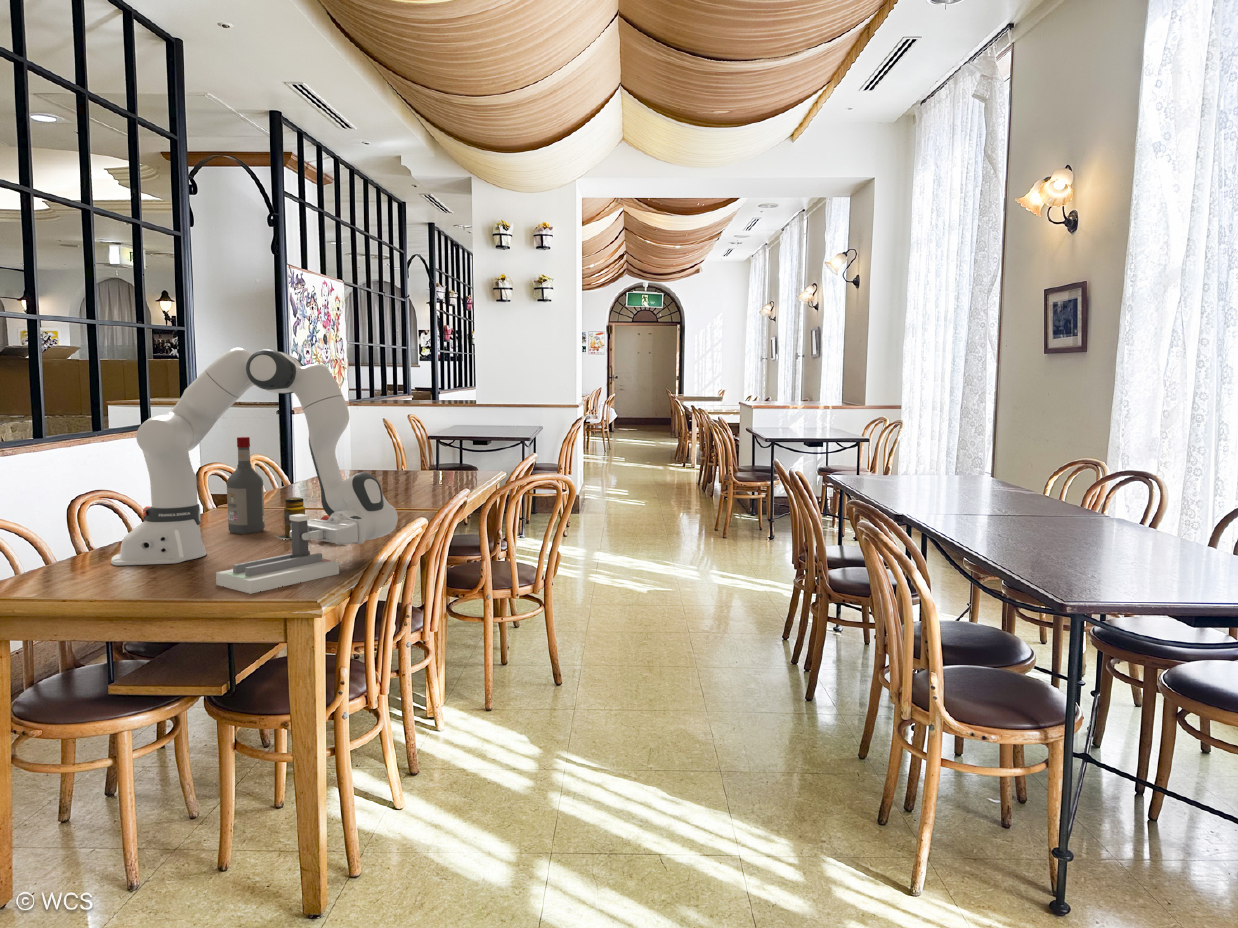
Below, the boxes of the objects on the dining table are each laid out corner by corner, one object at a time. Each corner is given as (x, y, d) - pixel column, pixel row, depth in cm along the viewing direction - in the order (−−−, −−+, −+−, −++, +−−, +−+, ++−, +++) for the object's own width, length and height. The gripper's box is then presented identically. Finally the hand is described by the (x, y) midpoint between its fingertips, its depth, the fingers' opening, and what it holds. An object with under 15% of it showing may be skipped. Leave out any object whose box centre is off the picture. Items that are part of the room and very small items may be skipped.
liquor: (242, 535, 257) (238, 438, 254) (225, 531, 262) (221, 437, 259) (268, 530, 265) (265, 437, 262) (251, 527, 270) (247, 436, 267)
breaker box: (250, 593, 188) (249, 572, 188) (216, 584, 196) (215, 564, 196) (339, 573, 208) (338, 554, 208) (305, 566, 216) (304, 547, 215)
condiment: (311, 536, 256) (309, 498, 254) (283, 540, 250) (282, 501, 248) (301, 533, 261) (299, 495, 260) (274, 537, 255) (272, 498, 254)
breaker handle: (299, 563, 205) (298, 516, 203) (290, 561, 207) (289, 515, 205) (310, 561, 207) (308, 515, 206) (301, 559, 209) (300, 513, 208)
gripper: (318, 511, 222) (271, 518, 211) (368, 519, 211) (321, 527, 199) (319, 534, 223) (272, 543, 212) (368, 543, 211) (322, 553, 200)
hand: (296, 535), depth 205 cm, fingers closed on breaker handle, 3 cm apart
